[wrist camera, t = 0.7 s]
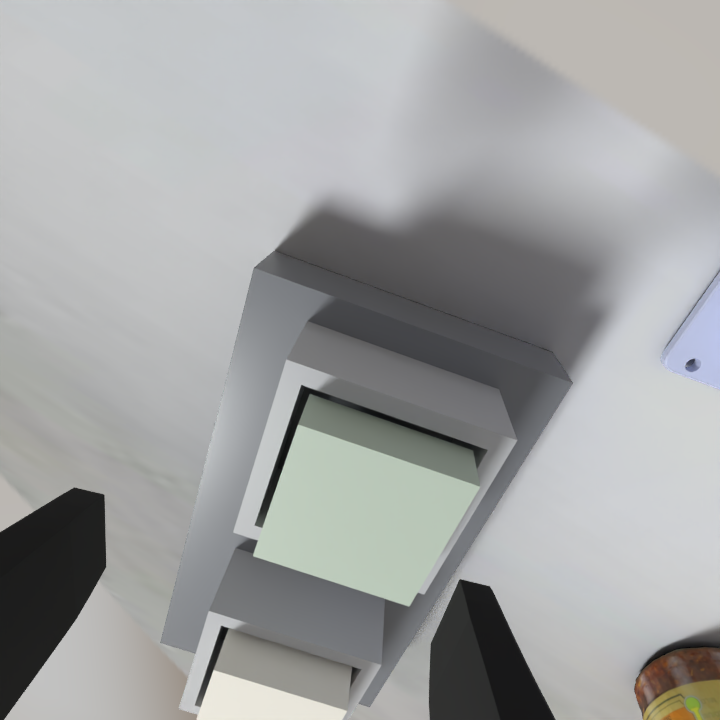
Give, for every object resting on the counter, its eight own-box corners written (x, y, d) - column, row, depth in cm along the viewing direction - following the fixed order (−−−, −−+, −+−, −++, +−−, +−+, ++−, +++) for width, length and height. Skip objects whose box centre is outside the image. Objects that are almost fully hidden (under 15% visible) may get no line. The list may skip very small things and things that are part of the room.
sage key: (473, 450, 14) (480, 486, 12) (409, 564, 16) (409, 606, 15) (309, 393, 14) (298, 424, 12) (267, 517, 16) (252, 556, 14)
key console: (552, 352, 18) (606, 434, 13) (372, 658, 27) (364, 778, 22) (274, 250, 17) (220, 296, 12) (182, 598, 26) (128, 708, 21)
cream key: (352, 666, 19) (347, 710, 17) (315, 732, 21) (308, 776, 19) (228, 627, 18) (213, 670, 17) (204, 698, 20) (188, 741, 19)
